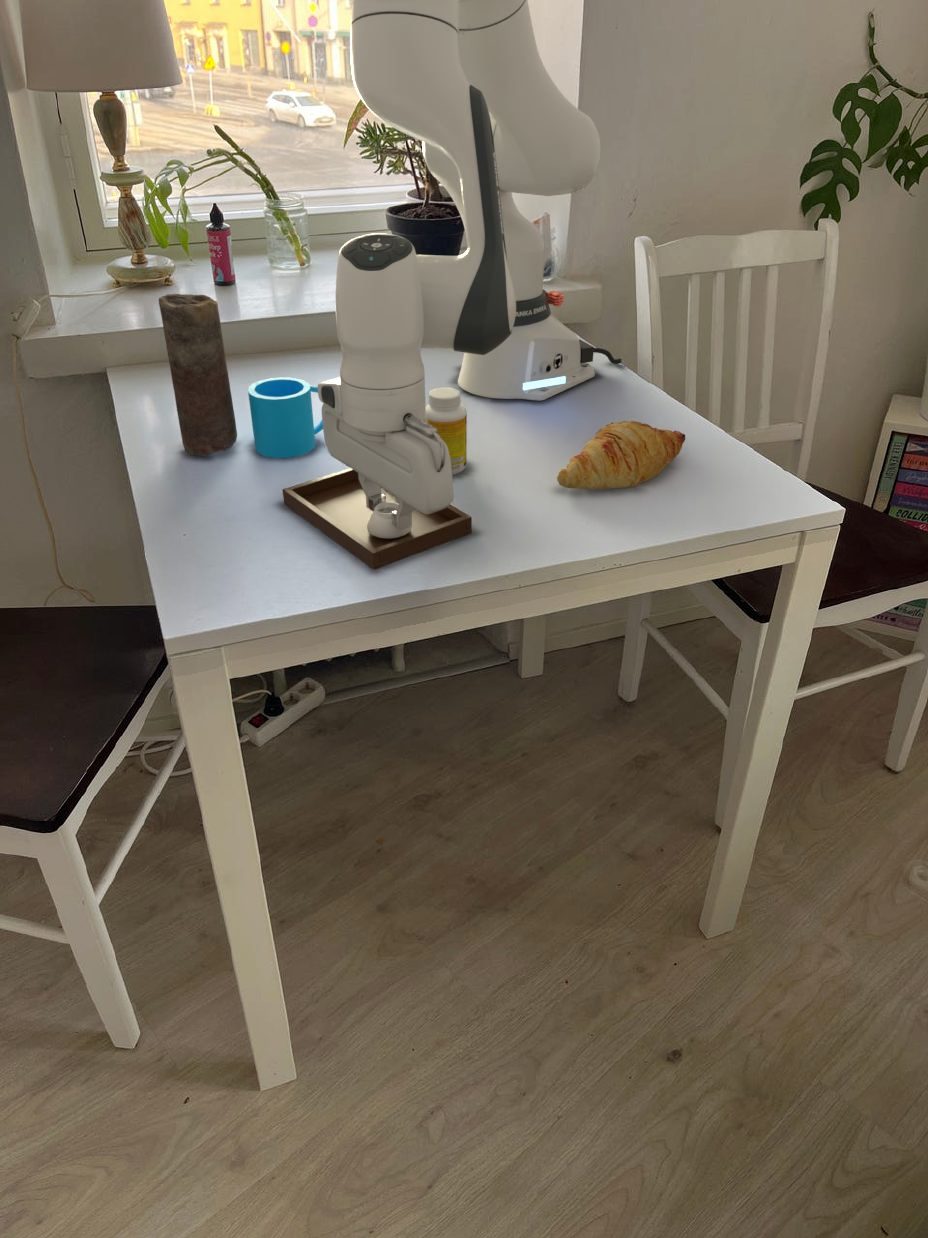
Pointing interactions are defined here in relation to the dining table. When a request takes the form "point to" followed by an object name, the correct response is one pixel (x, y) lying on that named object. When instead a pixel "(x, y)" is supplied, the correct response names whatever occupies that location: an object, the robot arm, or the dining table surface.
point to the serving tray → (345, 517)
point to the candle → (199, 372)
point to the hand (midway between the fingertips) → (388, 517)
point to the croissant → (621, 456)
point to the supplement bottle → (449, 423)
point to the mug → (283, 417)
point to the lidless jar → (385, 522)
